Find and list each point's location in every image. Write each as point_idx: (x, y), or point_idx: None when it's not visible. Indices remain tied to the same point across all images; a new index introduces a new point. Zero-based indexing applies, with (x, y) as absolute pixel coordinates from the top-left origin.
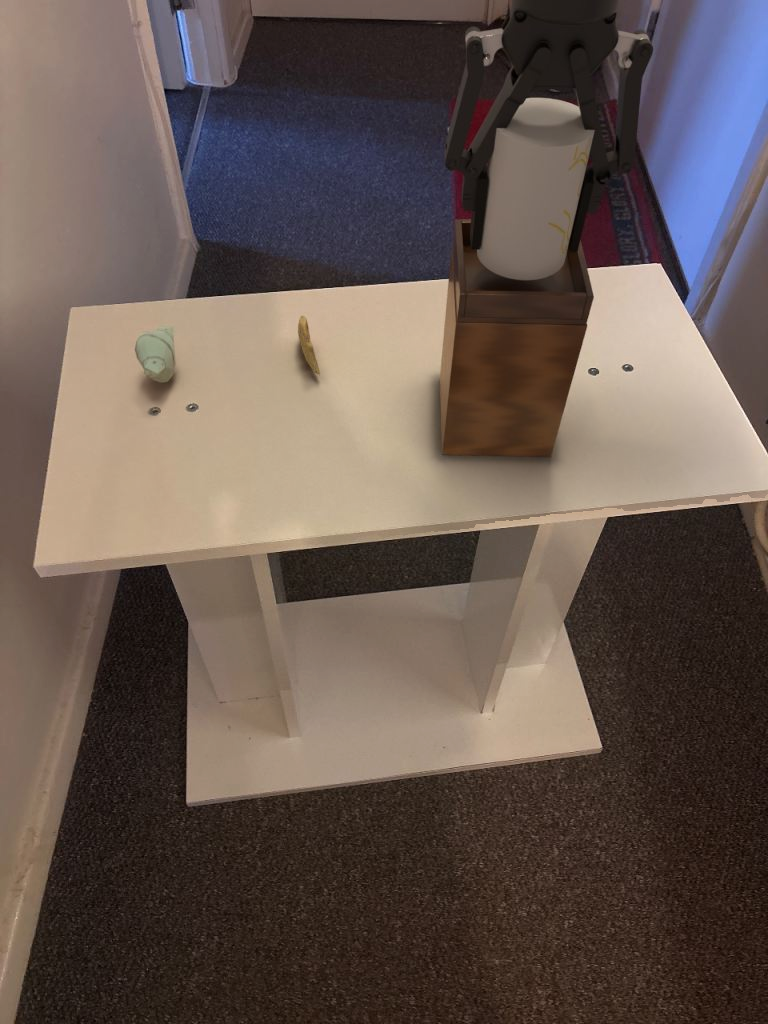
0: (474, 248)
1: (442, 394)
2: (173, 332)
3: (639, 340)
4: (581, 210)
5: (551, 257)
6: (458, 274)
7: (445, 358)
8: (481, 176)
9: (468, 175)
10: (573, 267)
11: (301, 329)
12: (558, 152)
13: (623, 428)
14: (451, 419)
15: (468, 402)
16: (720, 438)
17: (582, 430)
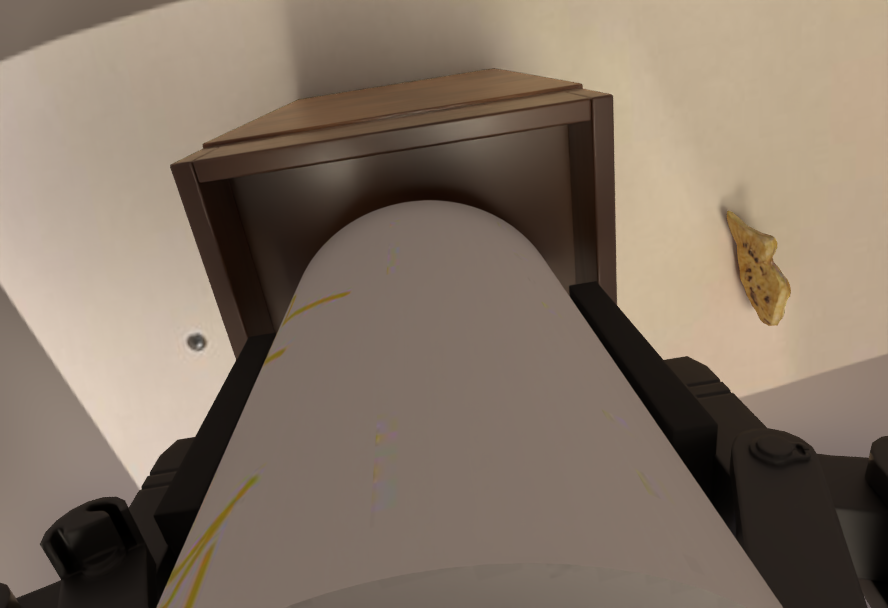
0: (587, 283)
1: None
2: None
3: (187, 408)
4: (226, 421)
5: (326, 257)
6: (614, 204)
7: None
8: (703, 456)
9: (782, 436)
10: None
11: (787, 280)
12: (328, 547)
13: (179, 196)
14: (500, 72)
15: (476, 79)
16: (3, 204)
17: None
